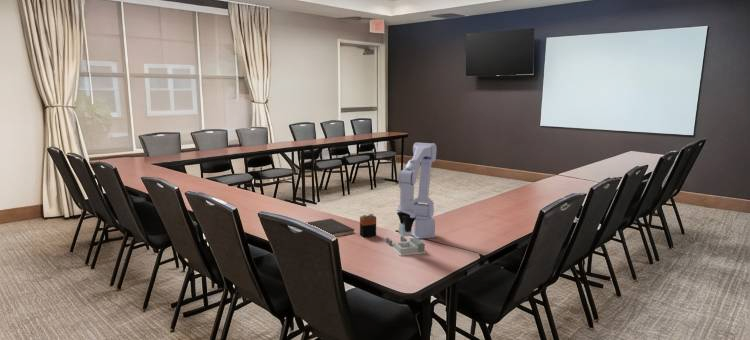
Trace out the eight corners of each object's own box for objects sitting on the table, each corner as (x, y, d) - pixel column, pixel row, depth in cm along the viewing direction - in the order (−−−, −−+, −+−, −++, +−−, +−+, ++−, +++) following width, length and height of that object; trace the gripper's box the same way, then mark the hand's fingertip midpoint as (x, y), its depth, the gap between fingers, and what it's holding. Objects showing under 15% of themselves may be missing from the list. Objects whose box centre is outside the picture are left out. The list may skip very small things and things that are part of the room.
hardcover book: (331, 222, 234) (331, 218, 234) (354, 234, 216) (354, 229, 215) (303, 227, 225) (303, 222, 225) (325, 239, 207) (325, 234, 206)
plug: (407, 233, 193) (408, 220, 192) (411, 235, 189) (411, 223, 188) (399, 233, 191) (399, 221, 191) (402, 236, 188) (402, 223, 187)
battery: (376, 235, 212) (376, 215, 210) (363, 237, 209) (363, 216, 207) (372, 233, 216) (372, 212, 214) (359, 234, 213) (359, 214, 211)
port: (417, 245, 198) (417, 236, 198) (426, 253, 189) (426, 243, 188) (391, 248, 195) (391, 238, 194) (399, 255, 185) (400, 245, 185)
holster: (402, 240, 205) (402, 236, 205) (406, 243, 201) (406, 239, 200) (386, 241, 203) (386, 237, 203) (389, 245, 198) (389, 241, 198)
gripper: (391, 195, 193) (391, 225, 195) (404, 203, 180) (403, 235, 182) (407, 194, 195) (406, 224, 198) (420, 202, 182) (419, 234, 184)
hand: (406, 230), depth 190 cm, fingers closed on plug, 4 cm apart
